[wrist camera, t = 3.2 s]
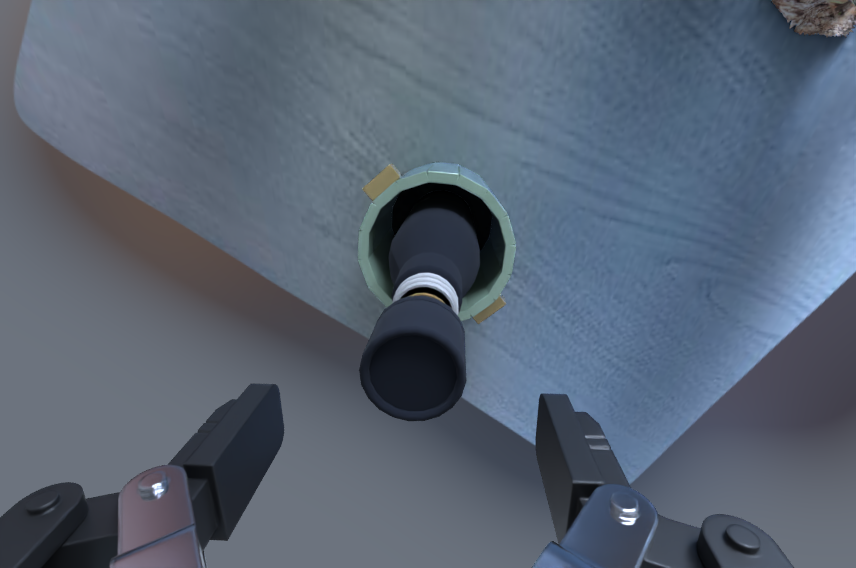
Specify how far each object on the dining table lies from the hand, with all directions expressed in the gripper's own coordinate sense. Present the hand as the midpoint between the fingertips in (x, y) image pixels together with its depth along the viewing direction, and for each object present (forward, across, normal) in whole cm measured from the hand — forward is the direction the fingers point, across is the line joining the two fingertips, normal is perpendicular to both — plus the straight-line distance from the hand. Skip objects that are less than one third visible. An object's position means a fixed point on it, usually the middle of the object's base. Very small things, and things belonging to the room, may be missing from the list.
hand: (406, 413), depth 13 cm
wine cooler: (+32, 0, 0) cm, 32 cm away
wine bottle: (+32, 0, 0) cm, 32 cm away
